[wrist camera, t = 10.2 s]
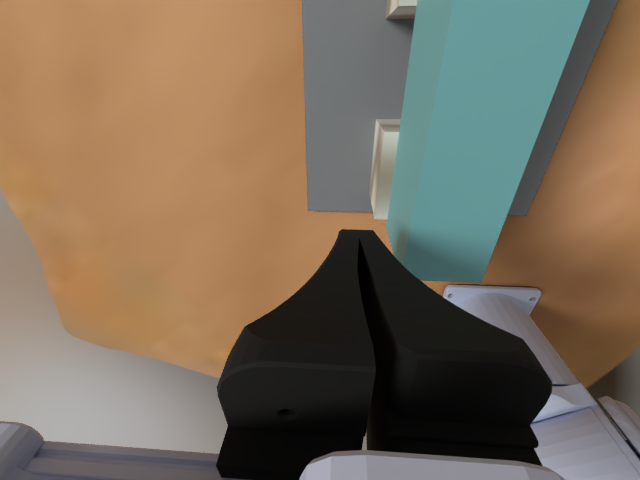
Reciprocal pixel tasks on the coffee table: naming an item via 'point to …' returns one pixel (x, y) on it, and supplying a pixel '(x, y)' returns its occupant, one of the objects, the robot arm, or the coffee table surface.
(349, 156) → the grey flat plate
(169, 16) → the coffee table surface
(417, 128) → the teal beam
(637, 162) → the coffee table surface
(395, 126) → the pillar
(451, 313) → the robot arm
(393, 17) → the pillar
